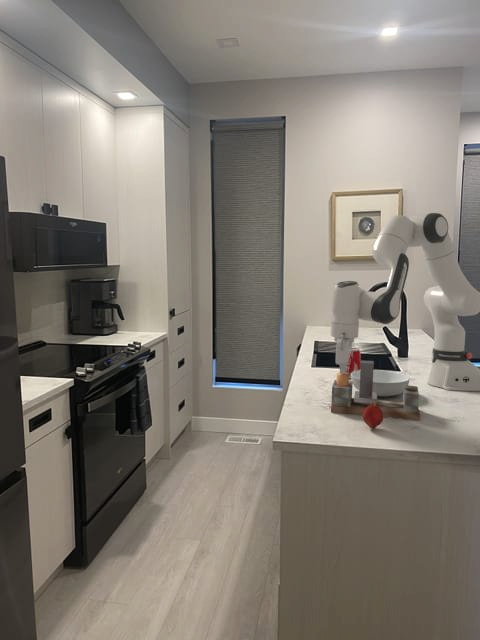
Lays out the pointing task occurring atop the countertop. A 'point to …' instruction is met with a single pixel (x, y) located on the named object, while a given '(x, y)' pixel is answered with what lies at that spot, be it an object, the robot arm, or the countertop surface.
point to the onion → (373, 416)
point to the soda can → (353, 361)
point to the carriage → (366, 384)
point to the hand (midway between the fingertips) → (342, 372)
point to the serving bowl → (383, 382)
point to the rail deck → (404, 410)
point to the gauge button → (342, 379)
